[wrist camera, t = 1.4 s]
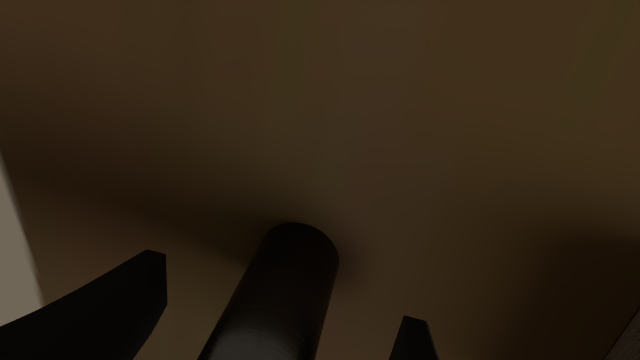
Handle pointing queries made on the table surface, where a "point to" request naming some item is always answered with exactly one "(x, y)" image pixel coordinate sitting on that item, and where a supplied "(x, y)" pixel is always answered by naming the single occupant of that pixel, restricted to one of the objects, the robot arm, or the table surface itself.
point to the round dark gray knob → (278, 299)
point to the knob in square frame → (628, 342)
